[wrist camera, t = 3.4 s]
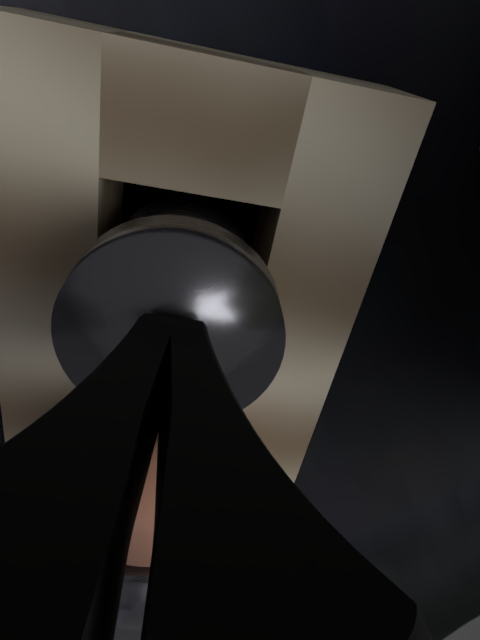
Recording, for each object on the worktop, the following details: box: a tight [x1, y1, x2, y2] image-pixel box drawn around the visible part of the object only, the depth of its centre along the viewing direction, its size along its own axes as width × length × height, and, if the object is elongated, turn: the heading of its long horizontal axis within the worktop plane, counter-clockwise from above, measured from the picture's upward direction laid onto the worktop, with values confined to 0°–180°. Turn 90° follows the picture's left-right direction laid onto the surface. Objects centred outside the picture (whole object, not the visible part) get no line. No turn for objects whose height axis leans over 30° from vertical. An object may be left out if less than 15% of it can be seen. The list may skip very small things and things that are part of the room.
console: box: [0, 6, 436, 483], centre depth 18 cm, size 24×11×4 cm, turn 170°
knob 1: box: [114, 565, 150, 640], centre depth 19 cm, size 5×5×4 cm
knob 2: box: [51, 196, 286, 410], centre depth 12 cm, size 5×5×4 cm
